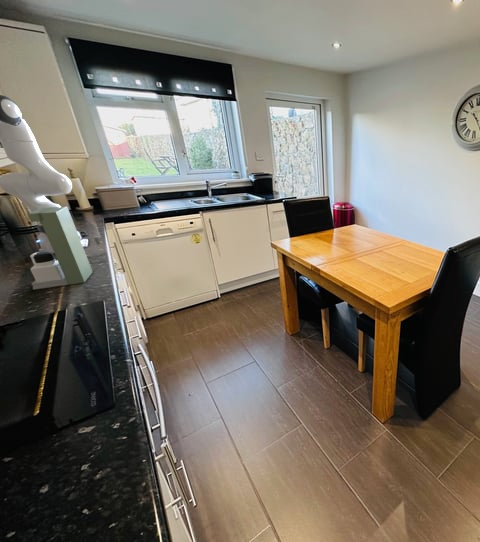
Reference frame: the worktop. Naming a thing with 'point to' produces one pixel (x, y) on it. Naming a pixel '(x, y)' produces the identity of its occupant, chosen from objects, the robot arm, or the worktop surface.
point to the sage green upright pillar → (63, 246)
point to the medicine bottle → (46, 267)
